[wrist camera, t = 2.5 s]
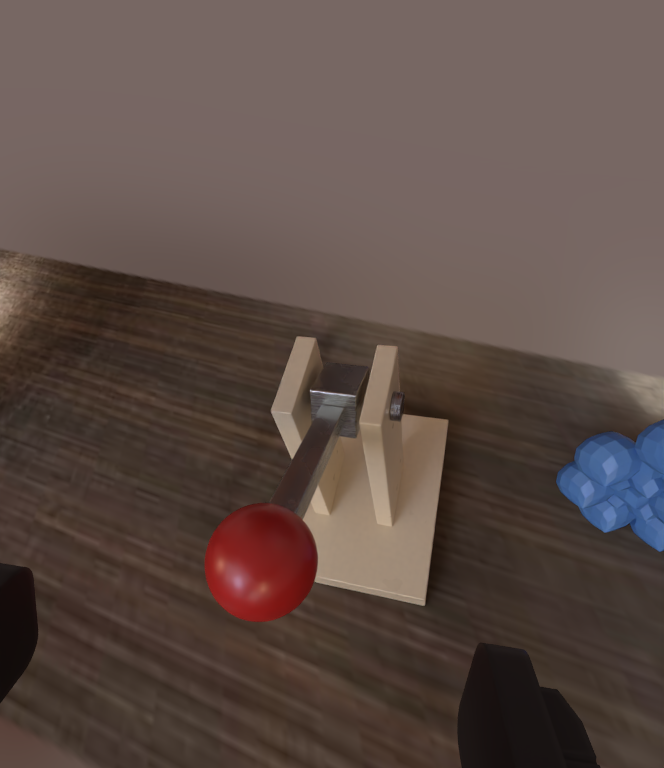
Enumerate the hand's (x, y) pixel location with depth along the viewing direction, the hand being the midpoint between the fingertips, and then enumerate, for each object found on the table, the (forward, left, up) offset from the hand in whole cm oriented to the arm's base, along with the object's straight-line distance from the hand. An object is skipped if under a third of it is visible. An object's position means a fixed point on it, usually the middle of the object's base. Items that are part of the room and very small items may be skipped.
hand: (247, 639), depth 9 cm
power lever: (-5, +5, -10) cm, 12 cm away
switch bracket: (-7, +10, -23) cm, 26 cm away
